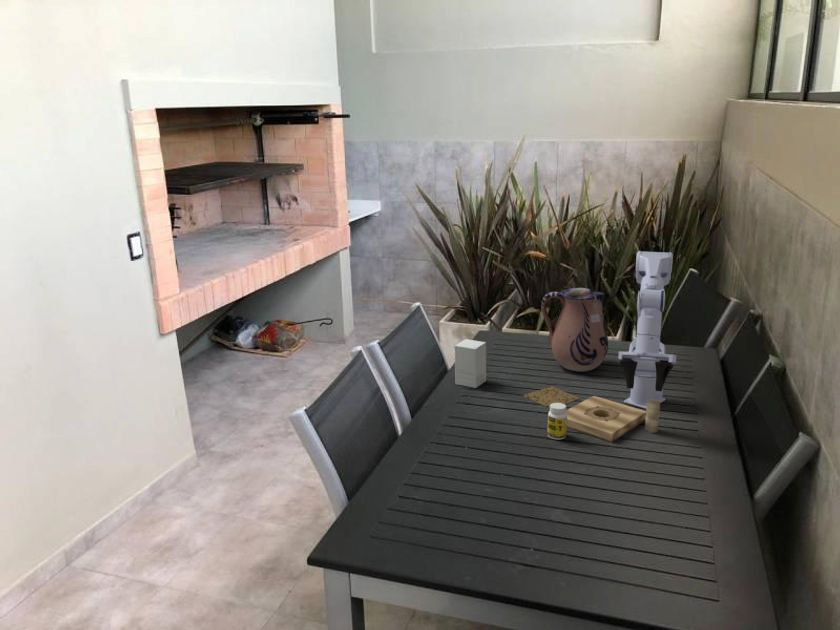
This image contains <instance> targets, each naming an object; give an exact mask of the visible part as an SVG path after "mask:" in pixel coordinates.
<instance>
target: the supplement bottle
mask: <svg viewBox="0 0 840 630" xmlns="http://www.w3.org/2000/svg"><path fill="white" fill-rule="evenodd" d="M566 410H567V404H566V405H565V404H562V403H552V404H551V405H550V408H549V411H548V413H547V430H546V431H547V432H546V435H547V438H550V439H552V440H556V441H559V440H563V439H565V438H566V437H567V430H568V428H567V413H566Z"/></svg>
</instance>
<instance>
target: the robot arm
mask: <svg viewBox="0 0 840 630" xmlns="http://www.w3.org/2000/svg"><path fill="white" fill-rule="evenodd" d="M673 259H674V254H673V253H672V251H669V252H663V251H662V252H660V251H659V252H658V251H642V250H639V251H637V252H636V260H635V279H636V283H638V284H639V285H640V290H638V293H637V303H636V308H637V309H636V310H637V324H636V338H635V339H634V340H633V341H632V342H630V344H629V350H628V351H618V357H617V358H618V360H619V364H620V367H621V368H622V371H623V374H624V377H625V383H626V389H630V395H629V397H628V398H626V399H624V400H623V403H625V404H628V405H631V406H634V407H638V408H642V409H644V410H645V409H646V408H647V400H649V399H655V400H658V401H660V404H661V403H663V402H665V401H666V398H665V397H663V393H664V392H663V391H664V385H665V382H666V379H667V377H668V375H669V374H670V372H671V371H672V370H673V368H674V364H676V363H677V354H668V353H666V345H665V344H664V343H663V342H661V329H662V319H663V318H662V317H663V312H664V309H665V301H666V292H665V288H664V287H665V286H666V285H669V284H670V281H671V279H672V278H671V277H672V273H673V261H674V260H673Z"/></svg>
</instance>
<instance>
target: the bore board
mask: <svg viewBox="0 0 840 630" xmlns="http://www.w3.org/2000/svg"><path fill="white" fill-rule="evenodd" d="M566 413H567V429H570V430H573V431H576V432H579V433H582V434H585V435H587V436H591V437H594V438H597V439H599V440H602V441H606V442H609V443H614V442H615V441H616V440H617V439H619V438H620V437H622V436H624V435H625V434H628V432H630V431H631V430H632V429H635V428H636V427H638V426H639V425H640V424H642V423H643V422H644V423H645V420H646V410H643V409H640V408H636V407H633V406H629V405H626V404H623V403H619V402H616V401H613V400H610V399H605V398H603V397H599V396H596V395H593V396H590V397H588V398H587V399H585V400H583V401H581V402H579V403H577V404H576V405H574V406H572V407H569V408H568V409H566Z"/></svg>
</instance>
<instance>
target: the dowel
mask: <svg viewBox="0 0 840 630" xmlns="http://www.w3.org/2000/svg"><path fill="white" fill-rule="evenodd" d="M660 410H661V403H660V401H658V400H655V399H649V400H647V408H646V410H645V411H646V420H645V421H644V431H645V432H646V433H648V434H657V433H658V432H659V420H660Z"/></svg>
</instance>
